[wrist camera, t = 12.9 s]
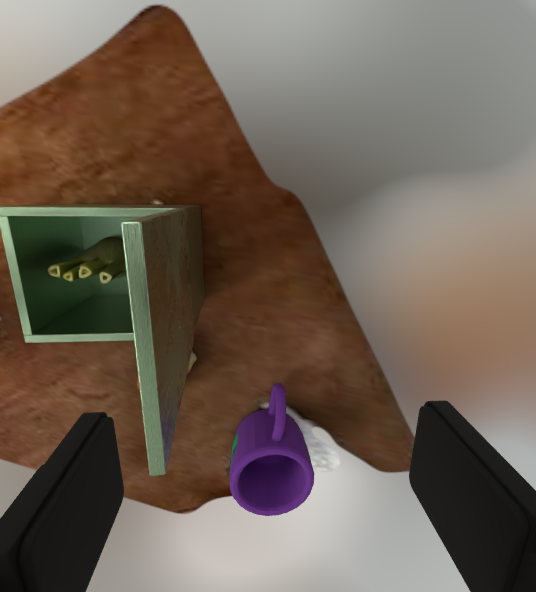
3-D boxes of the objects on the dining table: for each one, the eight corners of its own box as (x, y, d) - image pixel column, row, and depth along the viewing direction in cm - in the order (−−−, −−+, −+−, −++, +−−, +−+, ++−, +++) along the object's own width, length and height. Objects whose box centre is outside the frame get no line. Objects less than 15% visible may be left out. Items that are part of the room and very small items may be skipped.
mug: (296, 463, 55) (307, 519, 46) (228, 460, 54) (225, 516, 44) (313, 370, 50) (330, 411, 41) (239, 365, 49) (238, 405, 40)
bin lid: (149, 476, 17) (165, 475, 17) (120, 221, 13) (140, 221, 13) (185, 341, 32) (194, 341, 32) (177, 208, 29) (186, 208, 29)
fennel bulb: (149, 252, 43) (116, 273, 31) (130, 283, 44) (91, 313, 32) (108, 226, 41) (57, 237, 30) (89, 258, 42) (33, 280, 31)
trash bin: (88, 300, 45) (25, 343, 32) (74, 203, 41) (-5, 206, 28) (205, 298, 46) (190, 339, 33) (201, 204, 42) (182, 208, 29)
